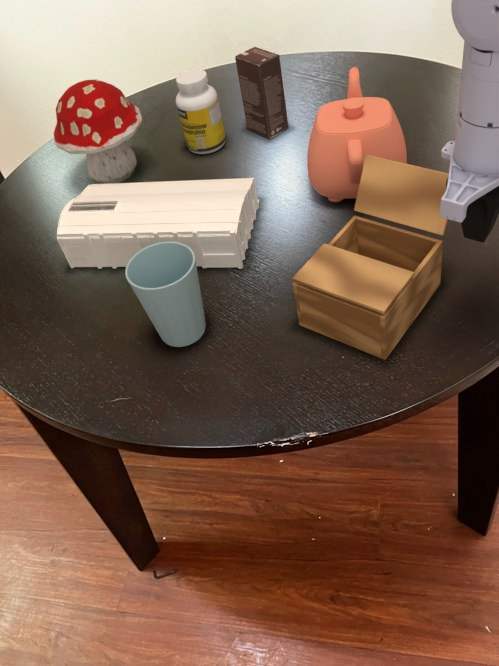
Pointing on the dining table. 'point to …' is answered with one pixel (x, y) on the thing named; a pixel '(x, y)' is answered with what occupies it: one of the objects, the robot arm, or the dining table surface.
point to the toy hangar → (159, 221)
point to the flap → (402, 194)
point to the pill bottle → (199, 112)
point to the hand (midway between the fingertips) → (476, 235)
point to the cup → (169, 291)
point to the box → (262, 91)
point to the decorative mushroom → (98, 129)
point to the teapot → (351, 141)
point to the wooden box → (368, 285)
